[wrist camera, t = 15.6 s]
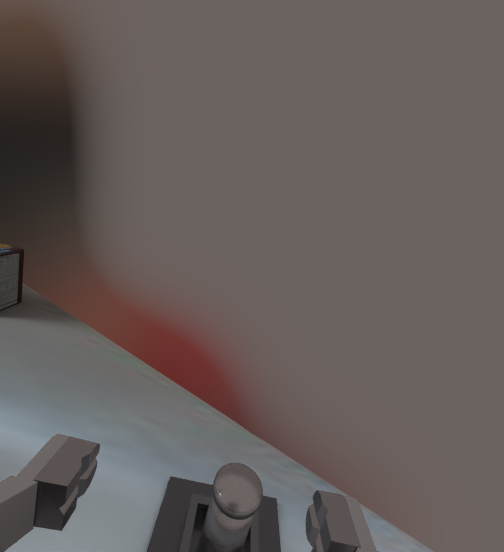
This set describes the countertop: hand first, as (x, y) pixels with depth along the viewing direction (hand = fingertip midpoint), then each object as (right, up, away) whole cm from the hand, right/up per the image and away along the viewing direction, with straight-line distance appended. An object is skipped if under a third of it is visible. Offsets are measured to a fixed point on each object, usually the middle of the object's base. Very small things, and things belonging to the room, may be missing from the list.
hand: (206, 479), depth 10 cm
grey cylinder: (-3, -26, +21) cm, 33 cm away
